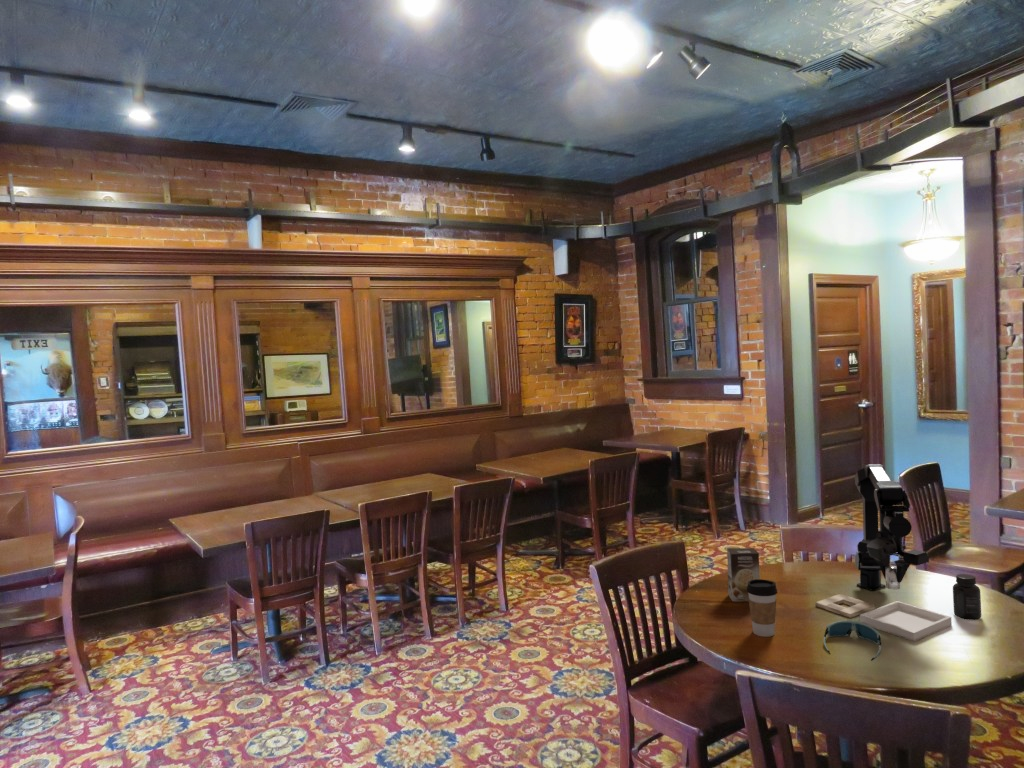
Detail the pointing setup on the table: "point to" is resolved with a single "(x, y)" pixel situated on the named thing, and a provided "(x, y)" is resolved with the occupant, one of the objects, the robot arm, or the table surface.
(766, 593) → the coffee cup
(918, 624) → the tray
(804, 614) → the table surface
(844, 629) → the sunglasses
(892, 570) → the steel pin
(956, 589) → the supplement bottle
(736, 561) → the coffee box
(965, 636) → the table surface
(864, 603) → the socket block
